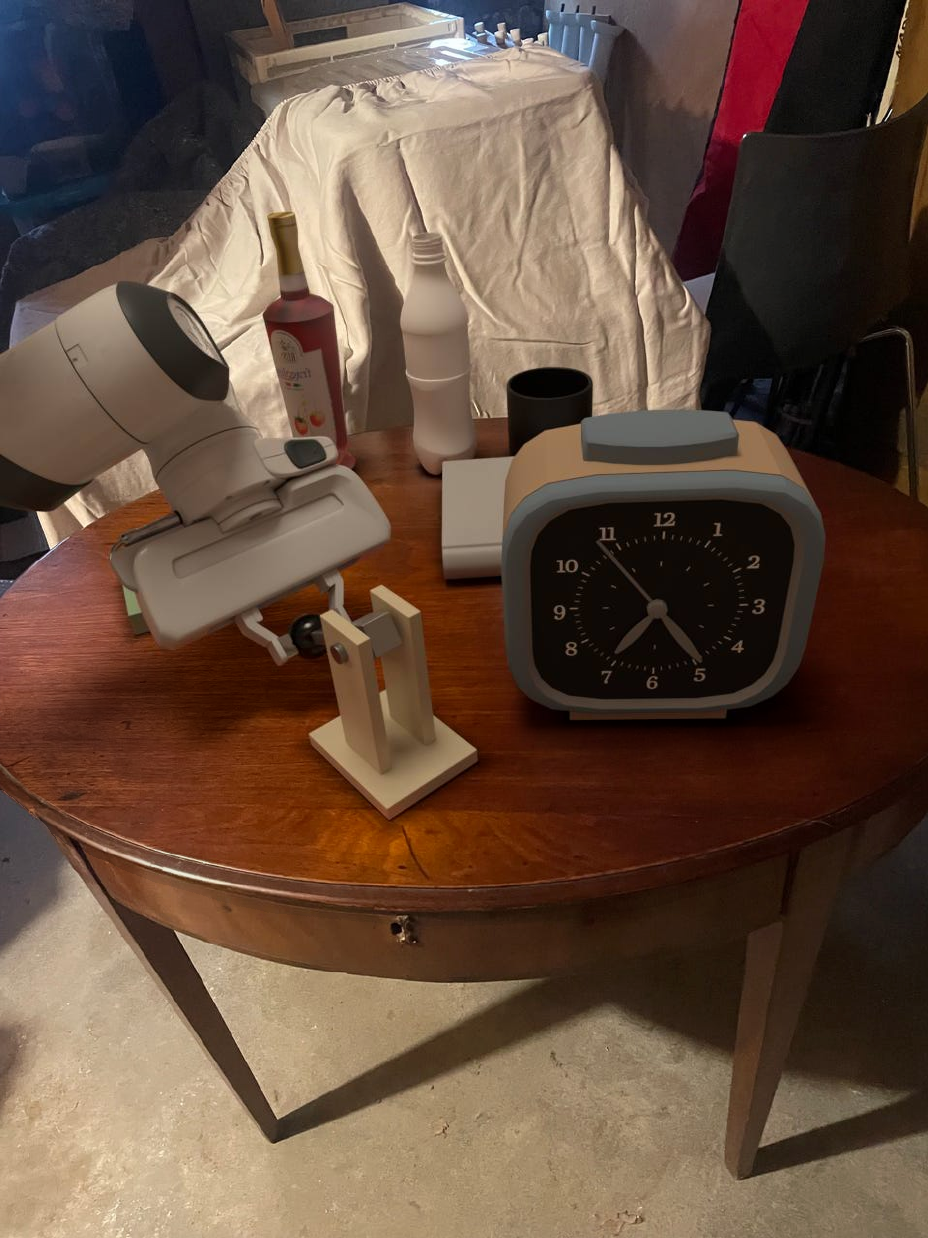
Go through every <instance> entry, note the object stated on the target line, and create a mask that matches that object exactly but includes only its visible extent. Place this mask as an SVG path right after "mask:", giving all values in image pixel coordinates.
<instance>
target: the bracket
mask: <svg viewBox="0 0 928 1238" xmlns="http://www.w3.org/2000/svg"><path fill="white" fill-rule="evenodd" d="M369 593H370V600H371V606H372V611H373V612H372V613H375V612H390V615H391V617H392V619H393V622H394V624H395V626H396V629H397V631H398V633H399V635H400V638H401V640H402V642H403V644H402V645H401V646H399V647H397V648H395V649H393V650H392V651H390V652H388V653H386V654H384V655H382V656H381V657H380V662H381V668H382V669H381V670H382V674H383V680H384V686H385V687H384V688H385V689H383V690H382V691H380V689H379V683H378V676H377V671H376V665H375V664H376V663H375V658H373V652H372V646H371V640H370V638H369V637H368V636H367V635H365V634H364V633H363V632H361V631H360V630H359V629H357V628H356V627H355V626H353V625H352V624H351V623H349V622H348V621H347V620H346V619H344V618H343V617H342V616H340V615H339V614H338V613H336V612H335V611H334V610H330V611H329V610H328V611H325V612H323V613H322V614H319V615H320V619H321V624H322V629H323V634H324V638H325V643H326V648H327V657H328V662H329V666H330V672H331V676H332V681H333V686H334V692H335V695H336V696H335V697H336V700H337V706H338V709H339V716H337V717H335V718H333V719H332V720H329V722H326V723H325V724H323V725H322V726H321V725H320V726H319V727H318V728H316V729H314V730H312V731H311V732H309V733H308V738H309V741H310V745H311V746H312V748H314V749H315V750H316V751H317V752H318V753H319V754H320V755H321V756H322V757H323V758H324V759H325V760H326V761H327V762H329V764H330V765H331V766H332V767H333V768H335V770H337V771H338V772H339V774H341V776H343V778H345V779H346V780H347V781H348V782H349V784H351V785H352V786H353V787H354V788H355V789H356V790H357V791H358V793H360V794H361V795H362V796H363V797H364V798H365V799H366V800H367V801H368V802H370V804H372V805H373V806H374V808H376V809H377V810H378V811H379V812H380V813H381V814H382V815H383V817H385V818H386V819H387V820H388V821H390V820H392V819H393V818H395V817H396V816H398V815H399V814H401V813H402V812H404V811H405V810H407V809H409V808H410V807H412V806H413V805H415V804H416V803H417V802H418V801H420V800H422V799H424V798H425V797H426V796H428V795H429V794H431V793H433V792H434V791H435V790H437V789H438V788H440V787H442V786H443V785H444V784H446V783H447V782H449V781H450V780H452V779H454V778H455V777H456V776H458V775H459V774H461V773H462V772H464V771H466V769H469V768H470V767H471V766H473V765H474V764H476V763H477V762H479V759H478V750H477V748H476V747H474V746H473V745H472V744H470V743H469V742H468V741H466V739H464V738H463V737H461V735H459V734H457V732H455V731H454V730H453V729H452V728H450V727H449V726H447V724H445V723H444V721H443V722H442V721H441V720H440V719H439V718H437V717H436V716H435V715H434V711H433V710H434V709H433V701H432V694H431V693H432V692H431V684H430V678H429V676H430V675H429V670H428V669H429V668H428V661H427V654H426V653H427V652H426V645H425V636H424V627H423V620H422V619H423V618H422V611H421V610H420V609H418V608H416V607H415V606H414V605H412V604H410V602H408V601H406V600H405V599H403V598H402V597H400V596H399V595H398V594H396V593H394V592H393V591H391V589H389V588H387V587H386V586H384V584H380V585H378V586H376V587H374V588H372V589H370V590H369Z"/></svg>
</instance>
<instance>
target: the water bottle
mask: <svg viewBox="0 0 928 1238" xmlns="http://www.w3.org/2000/svg"><path fill="white" fill-rule="evenodd" d="M411 242H412V243H411V245H412V251H413V252H412V253H411V256H412V258H411V261H410V262H411V264H412V265H413V276H412V280H411V282H410V286H409V288H408V291H407V293H406V296H405V298H404V301H403V305H402V308H401V312H400V317H399V318H400V319H399V323H400V324H399V325H400V329H401V333H402V343H403V349H404V350H403V351H404V361H405V367H406V369H405V377H406V379H407V382H408V384H409V387H410V393H411V397H412V405H413V430H412V431H413V432H412V443H413V449H414V452H415V455H416V456H417V459H418V460H419V462H420V464H421V465H422V467H423V468H424V470H426V472H427V473H429V474H431V475H434V476H439V475H441V473H442V463H443V461H457V460H471V459H475V458H474V457H475V455H476V452H477V448H478V447H477V446H478V444H477V443H478V439H477V437H478V436H477V429H476V426H475V423H474V422H475V421H474V418H473V415H472V414H473V413H472V408H471V396H470V395H471V394H470V393H471V392H470V391H471V390H470V389H471V388H470V387H471V386H470V385H471V384H470V383H471V374H472V373H471V372H472V366H473V365H472V363H471V351H470V337H469V334H470V333H469V322H470V320H469V319H470V318H469V314H468V309H467V307H466V305H465V302H464V301H463V299H462V297H461V295H460V293H459V291H458V290H457V288H456V287H455V285H454V284H453V282H452V280H451V278H450V277H449V273H448V271H447V267H446V261H447V255H445V253H446V251H445V250H444V246H443V245H444V243H443V236H442V233H439V232H421V233H418V234H414V235H413V236H412V237H411Z"/></svg>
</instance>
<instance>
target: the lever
mask: <svg viewBox="0 0 928 1238" xmlns="http://www.w3.org/2000/svg"><path fill="white" fill-rule="evenodd" d="M320 615H321V614H319V613H315V612H308V613H307V612H306V613H302V614H300V615H299V616H297V617H296V618H294V619H293V620H292V621H291V623H290V624H289V626H288V629H287V633H286V634H289V635H290V637H291V639H292V640H293V642H292V644H293V645H295V646H296V647H297V649H298V652H299V655H298V656H297V657H298V658H300V659H303V660H308V661H314V660H318V659H321V658H323V657H324V656H326V655H328V653H327V648H326V643H325V638H324V634H323V629H322V624H321V619H320ZM351 622H352V623H351V624H352V625H353V626H355V627H356V628H357V629H359V630H360V631H361V632H363V633H364V634H365V635H367V636H368V637H369V638H370V640H371V646H372V652H373V658H374V660H375V659H379V658H381V656H382V655H384V654H386V653H388V652H390V651H392V650H393V649H395V648H397V647H399V646H401V645H402V644H403V642H402V640H401V638H400V635H399V633H398V631H397V629H396V626H395V624H394V622H393V619H392V617H391V615H390V612H375V613H373V612H369V613H367V614H365V615H363V616H361V617H359V618H358V619H355V620H353V621H351Z"/></svg>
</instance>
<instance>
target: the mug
mask: <svg viewBox="0 0 928 1238" xmlns="http://www.w3.org/2000/svg"><path fill="white" fill-rule="evenodd" d="M505 388H506V389H505V390H506V409H507V435H508V455H509V456H508V457H514V456H516V454H517V453H518V452H519V450H520V449H521V448H522V447H523V445H524V444H525V443H527V442H529V441H530V440H532V439H533V438H535V437H536V436H538V435H539V434H541V433H542V432H544V431H545V430H551V429H556V428H561V427H566V426H572V425H577V424H581V421H582V420H583V419H584V418H588V417H593V399H594V397H593V396H594V383H593V378H592V377H591V375H589V374H588V373H586V372H585V371H582V370H579V369H576V368H572V367H564V366H543V367H535V368H530V369H526V370H524V371H523V370H522V371H520V372H518V373H516V374H514V375H512V376H511V377H510V378H509V379H508V380H507V382H506V387H505Z"/></svg>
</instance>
